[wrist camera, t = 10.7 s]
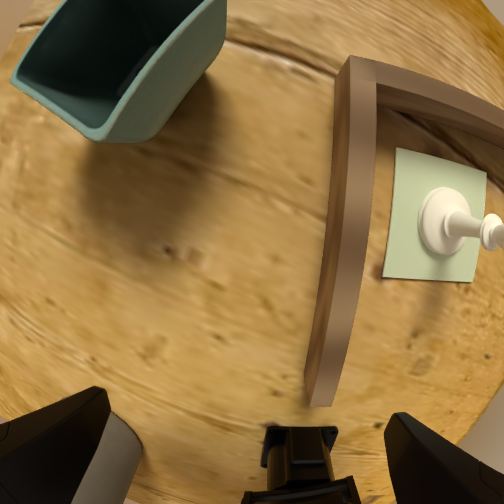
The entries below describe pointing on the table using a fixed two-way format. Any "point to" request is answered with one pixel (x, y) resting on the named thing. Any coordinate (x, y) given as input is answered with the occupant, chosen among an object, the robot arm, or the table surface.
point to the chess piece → (455, 223)
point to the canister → (111, 466)
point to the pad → (407, 210)
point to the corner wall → (370, 192)
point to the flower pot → (120, 63)
